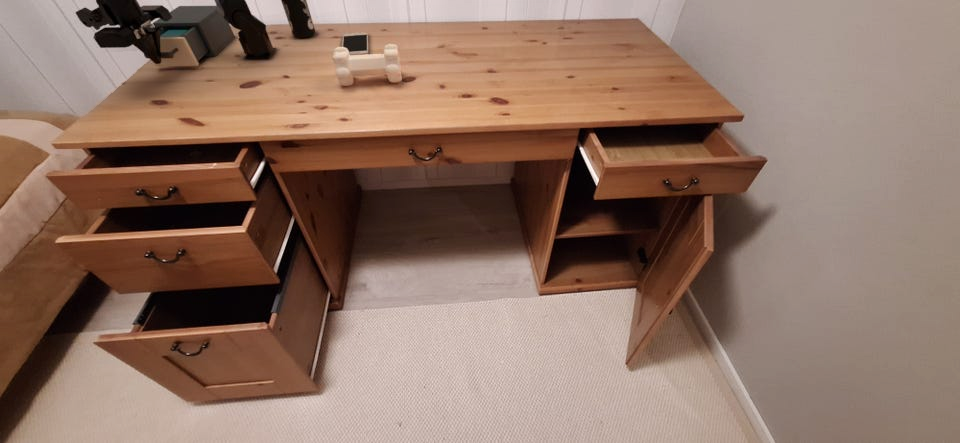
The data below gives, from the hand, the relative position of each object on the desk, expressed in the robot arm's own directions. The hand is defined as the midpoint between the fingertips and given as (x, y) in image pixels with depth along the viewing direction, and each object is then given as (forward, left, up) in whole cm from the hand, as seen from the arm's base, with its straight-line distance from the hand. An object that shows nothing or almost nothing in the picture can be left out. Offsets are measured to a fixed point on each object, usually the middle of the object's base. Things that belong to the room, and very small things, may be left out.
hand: (158, 63), depth 91 cm
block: (0, -11, -2) cm, 11 cm away
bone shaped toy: (-51, +3, -4) cm, 51 cm away
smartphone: (-43, -19, -4) cm, 47 cm away
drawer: (0, -9, -3) cm, 10 cm away
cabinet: (0, -20, -4) cm, 21 cm away
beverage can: (-26, -28, -4) cm, 39 cm away
